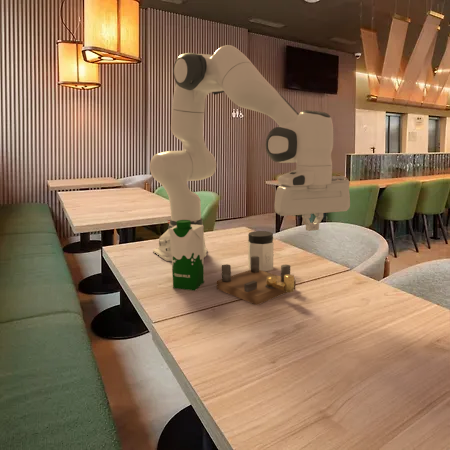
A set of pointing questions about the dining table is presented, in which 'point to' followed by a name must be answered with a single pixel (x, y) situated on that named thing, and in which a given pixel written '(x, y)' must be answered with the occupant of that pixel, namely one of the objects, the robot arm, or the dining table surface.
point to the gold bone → (287, 285)
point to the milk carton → (187, 255)
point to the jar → (261, 249)
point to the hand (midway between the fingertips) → (312, 230)
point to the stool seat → (251, 283)
